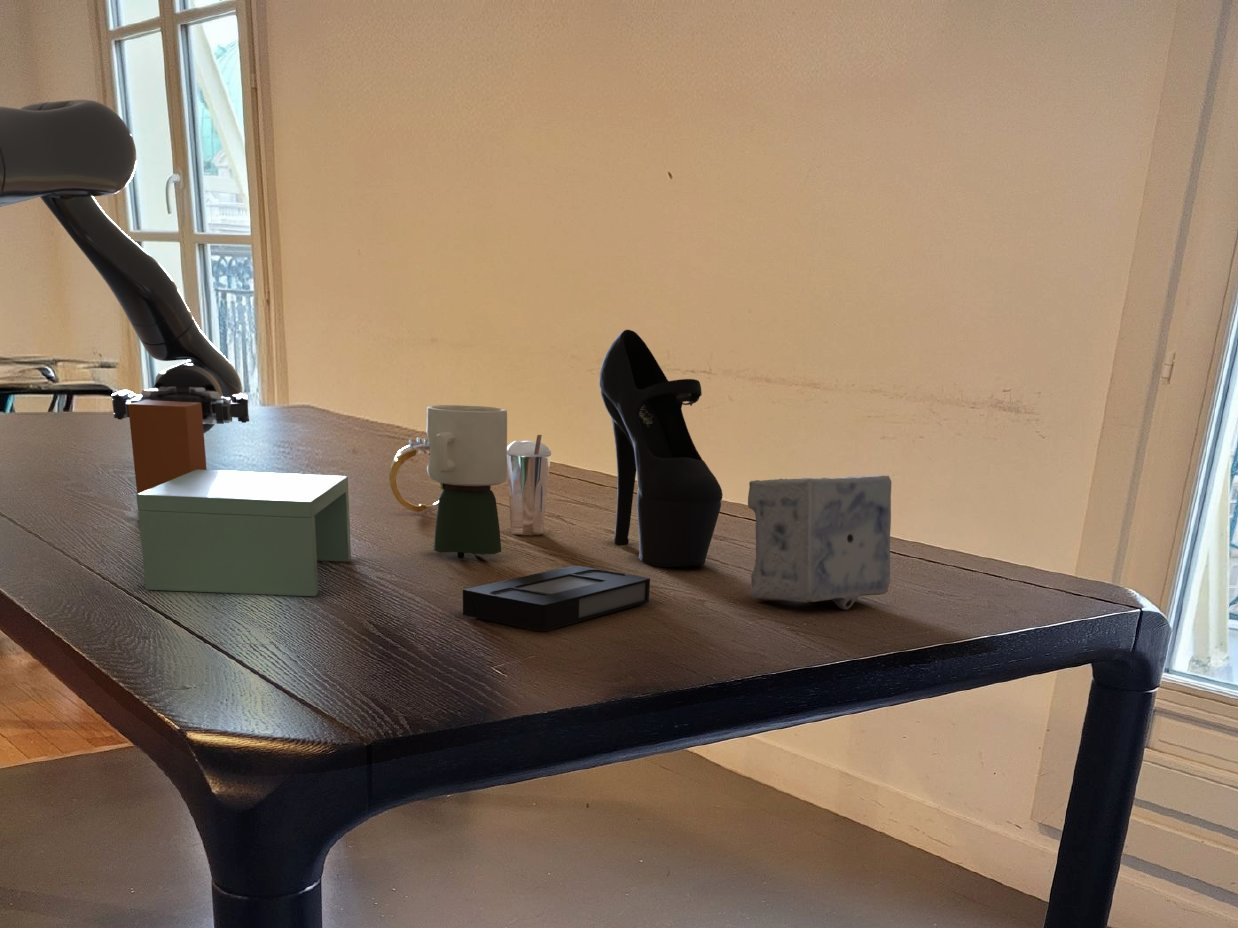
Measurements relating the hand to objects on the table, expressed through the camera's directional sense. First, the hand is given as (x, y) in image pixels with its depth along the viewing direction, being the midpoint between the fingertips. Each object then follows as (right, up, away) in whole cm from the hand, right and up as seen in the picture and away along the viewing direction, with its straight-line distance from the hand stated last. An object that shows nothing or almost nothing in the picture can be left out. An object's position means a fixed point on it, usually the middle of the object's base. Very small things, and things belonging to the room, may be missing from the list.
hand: (177, 412), depth 137 cm
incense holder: (+64, -26, -30) cm, 75 cm away
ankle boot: (+5, -13, -6) cm, 15 cm away
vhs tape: (+43, -28, -37) cm, 64 cm away
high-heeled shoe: (+51, -19, -14) cm, 56 cm away
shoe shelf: (+17, -24, -30) cm, 42 cm away
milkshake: (+38, -15, -5) cm, 41 cm away
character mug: (+34, -20, -18) cm, 43 cm away
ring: (+26, -10, +3) cm, 28 cm away
